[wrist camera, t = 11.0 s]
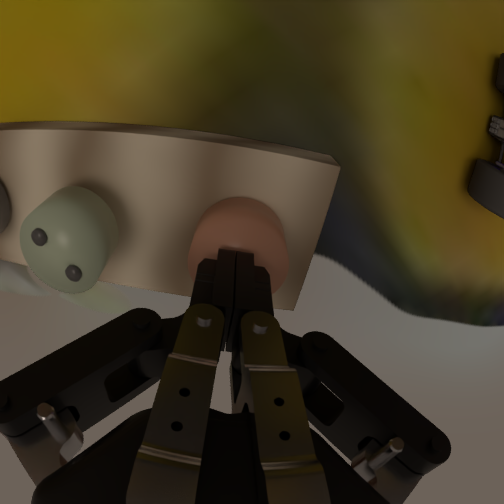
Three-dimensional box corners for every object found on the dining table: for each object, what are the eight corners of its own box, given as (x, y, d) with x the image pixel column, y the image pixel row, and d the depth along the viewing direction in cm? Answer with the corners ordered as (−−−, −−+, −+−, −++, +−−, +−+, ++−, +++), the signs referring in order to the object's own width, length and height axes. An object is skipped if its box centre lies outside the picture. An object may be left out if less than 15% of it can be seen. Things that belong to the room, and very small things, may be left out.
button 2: (118, 190, 13) (94, 217, 11) (120, 270, 15) (103, 304, 13) (40, 182, 13) (9, 205, 10) (50, 257, 15) (27, 286, 13)
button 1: (293, 206, 15) (301, 233, 13) (273, 279, 17) (276, 313, 15) (200, 191, 14) (191, 215, 12) (191, 267, 17) (183, 300, 15)
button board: (330, 155, 16) (341, 167, 14) (290, 289, 21) (293, 310, 19) (-34, 125, 13) (-53, 134, 12) (-18, 237, 18) (-32, 251, 16)
